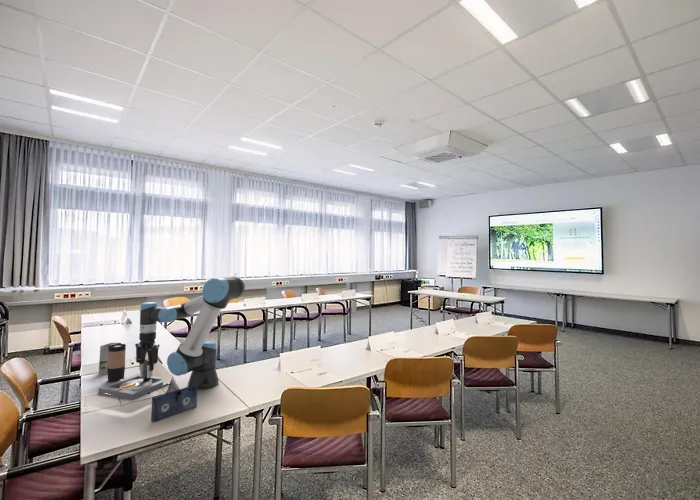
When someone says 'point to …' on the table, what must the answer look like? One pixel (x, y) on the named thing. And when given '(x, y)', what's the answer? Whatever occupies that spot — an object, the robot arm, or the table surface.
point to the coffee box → (104, 358)
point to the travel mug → (116, 362)
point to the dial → (138, 381)
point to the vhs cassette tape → (173, 403)
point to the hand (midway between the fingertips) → (146, 376)
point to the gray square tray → (119, 392)
